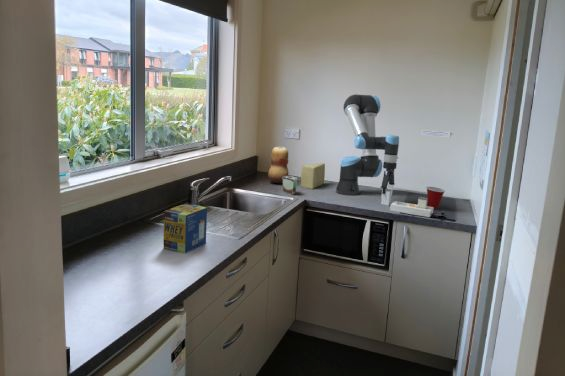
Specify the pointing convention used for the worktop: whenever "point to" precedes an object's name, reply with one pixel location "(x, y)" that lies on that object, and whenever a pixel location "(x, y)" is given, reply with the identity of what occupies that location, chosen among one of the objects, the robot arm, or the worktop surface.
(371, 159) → the robot arm
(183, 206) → the protein box
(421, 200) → the beige plug
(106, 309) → the worktop surface
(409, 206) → the power strip
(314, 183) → the cheese
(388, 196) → the grey plug
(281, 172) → the butternut squash
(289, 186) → the food container
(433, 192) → the plastic cup
